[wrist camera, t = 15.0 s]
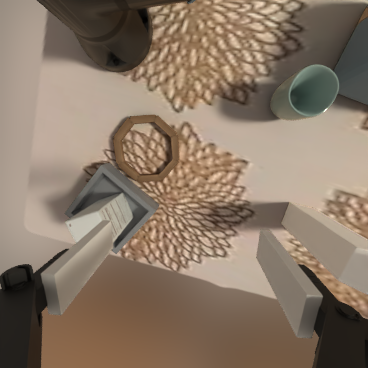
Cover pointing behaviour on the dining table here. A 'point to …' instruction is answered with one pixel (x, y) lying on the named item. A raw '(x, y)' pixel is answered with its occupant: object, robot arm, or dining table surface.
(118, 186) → the bin
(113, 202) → the supplement box
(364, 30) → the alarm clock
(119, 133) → the ring
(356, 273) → the milk
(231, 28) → the dining table surface
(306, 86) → the cup
